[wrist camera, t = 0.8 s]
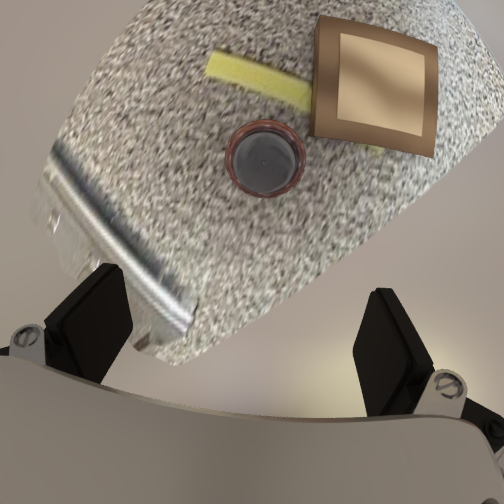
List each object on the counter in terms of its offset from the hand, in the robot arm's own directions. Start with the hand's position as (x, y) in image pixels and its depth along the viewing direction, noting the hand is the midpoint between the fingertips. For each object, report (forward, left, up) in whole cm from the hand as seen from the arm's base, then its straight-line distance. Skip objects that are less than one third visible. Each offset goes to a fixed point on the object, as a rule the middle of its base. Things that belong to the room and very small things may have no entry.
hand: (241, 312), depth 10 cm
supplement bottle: (-4, 0, -21) cm, 22 cm away
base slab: (-12, +10, -21) cm, 26 cm away
